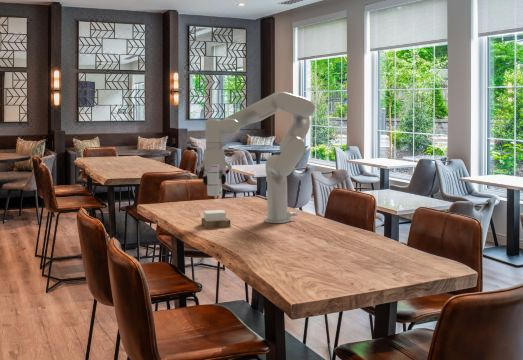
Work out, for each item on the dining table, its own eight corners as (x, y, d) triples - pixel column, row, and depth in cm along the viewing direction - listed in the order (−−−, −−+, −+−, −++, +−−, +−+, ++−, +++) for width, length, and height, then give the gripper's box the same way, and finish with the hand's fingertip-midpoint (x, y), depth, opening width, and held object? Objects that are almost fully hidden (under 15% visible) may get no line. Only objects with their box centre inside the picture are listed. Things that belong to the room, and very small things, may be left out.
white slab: (223, 217, 296) (222, 209, 296) (225, 220, 287) (225, 212, 287) (204, 218, 294) (203, 210, 294) (206, 221, 286) (206, 213, 285)
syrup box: (219, 196, 286) (218, 164, 284) (206, 195, 287) (206, 164, 286) (222, 194, 292) (222, 163, 290) (210, 194, 293) (209, 163, 291)
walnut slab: (224, 223, 298) (224, 216, 298) (230, 227, 288) (230, 220, 287) (201, 225, 295) (201, 218, 294) (207, 229, 284) (206, 222, 284)
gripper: (230, 145, 293) (230, 182, 295) (193, 146, 288) (194, 184, 290) (234, 146, 286) (235, 184, 288) (197, 147, 281) (197, 186, 283)
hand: (214, 184), depth 289 cm, fingers closed on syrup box, 7 cm apart
